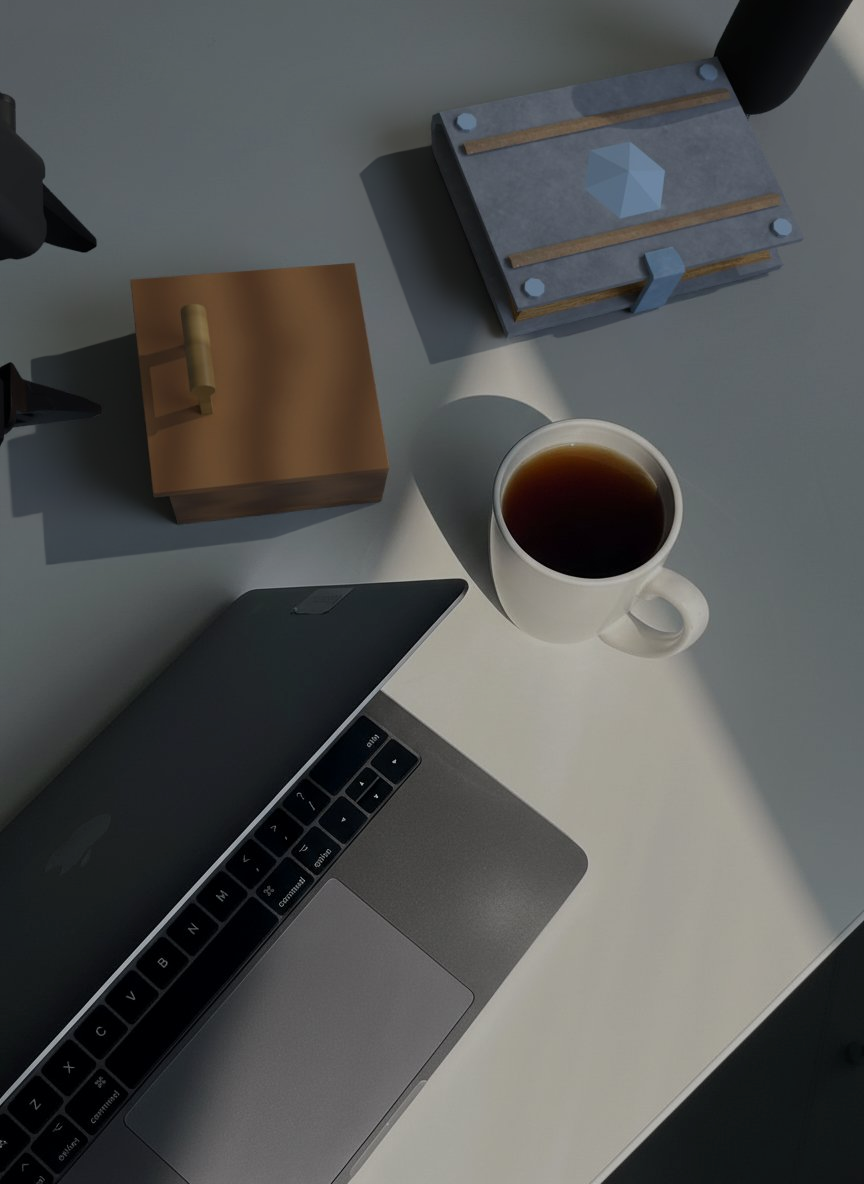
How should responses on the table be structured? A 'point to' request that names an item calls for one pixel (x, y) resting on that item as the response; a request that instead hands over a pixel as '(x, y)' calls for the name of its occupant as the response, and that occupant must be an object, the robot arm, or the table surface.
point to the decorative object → (774, 47)
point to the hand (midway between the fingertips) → (94, 328)
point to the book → (612, 194)
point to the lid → (256, 379)
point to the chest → (278, 498)
